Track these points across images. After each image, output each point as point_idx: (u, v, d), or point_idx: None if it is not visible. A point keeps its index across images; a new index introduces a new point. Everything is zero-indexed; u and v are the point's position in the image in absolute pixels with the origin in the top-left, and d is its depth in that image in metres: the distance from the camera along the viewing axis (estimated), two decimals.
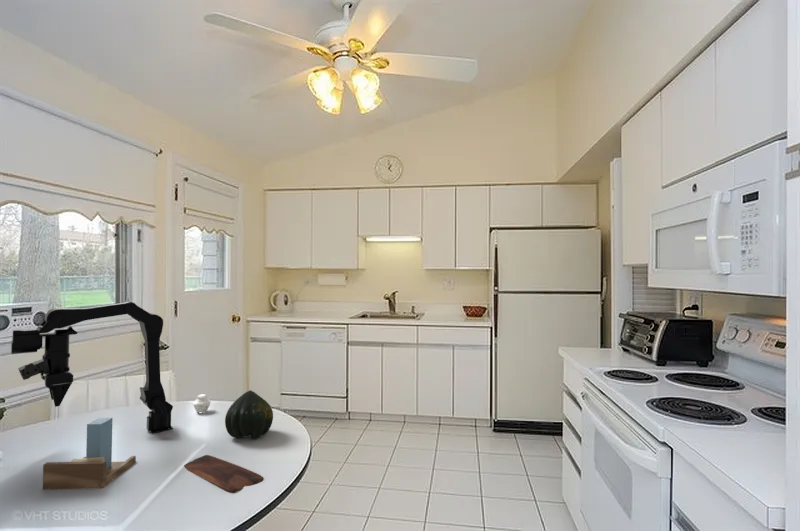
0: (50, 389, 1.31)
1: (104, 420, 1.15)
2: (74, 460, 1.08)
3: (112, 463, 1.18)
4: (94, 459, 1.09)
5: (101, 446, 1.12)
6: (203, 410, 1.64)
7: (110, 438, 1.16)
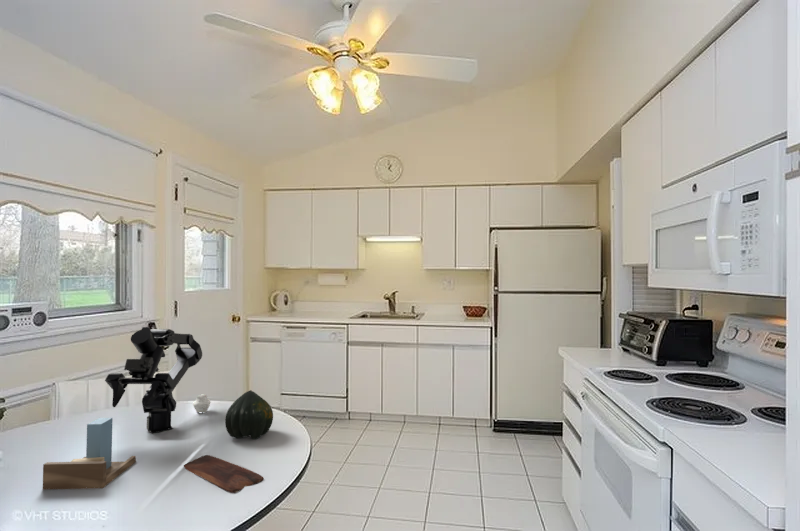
0: (116, 395, 1.30)
1: (104, 420, 1.15)
2: (74, 460, 1.08)
3: (112, 463, 1.18)
4: (94, 459, 1.09)
5: (101, 446, 1.12)
6: (203, 410, 1.64)
7: (110, 438, 1.16)
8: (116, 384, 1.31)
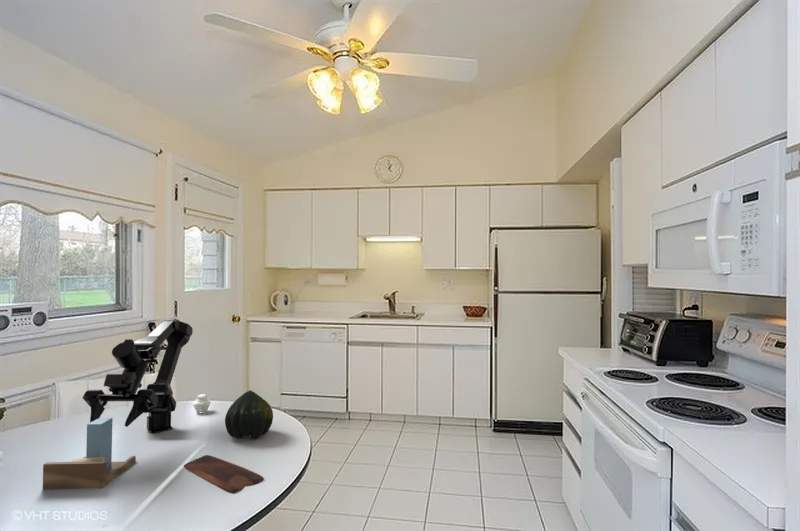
0: (94, 414, 1.20)
1: (104, 420, 1.15)
2: (74, 460, 1.08)
3: (112, 463, 1.18)
4: (94, 459, 1.09)
5: (101, 446, 1.12)
6: (203, 410, 1.64)
7: (110, 438, 1.16)
8: (94, 402, 1.21)
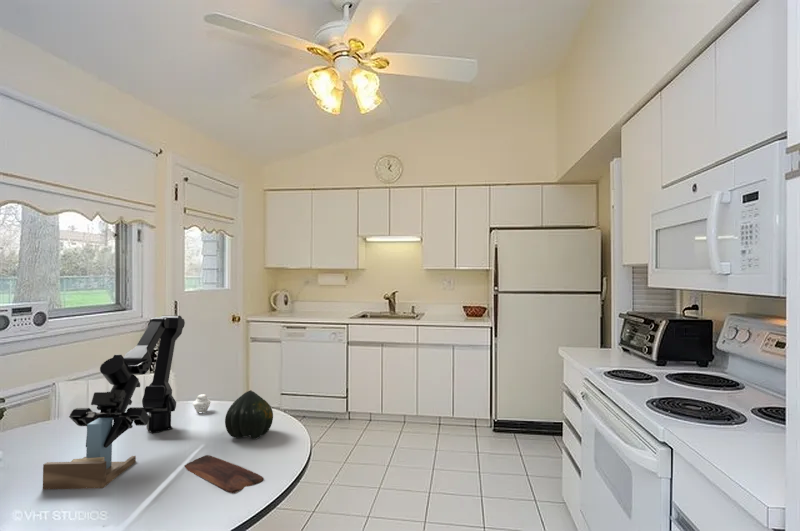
0: None
1: (104, 420, 1.15)
2: (74, 460, 1.08)
3: (112, 463, 1.18)
4: (94, 459, 1.09)
5: (101, 446, 1.12)
6: (203, 410, 1.64)
7: None
8: (91, 421, 1.16)
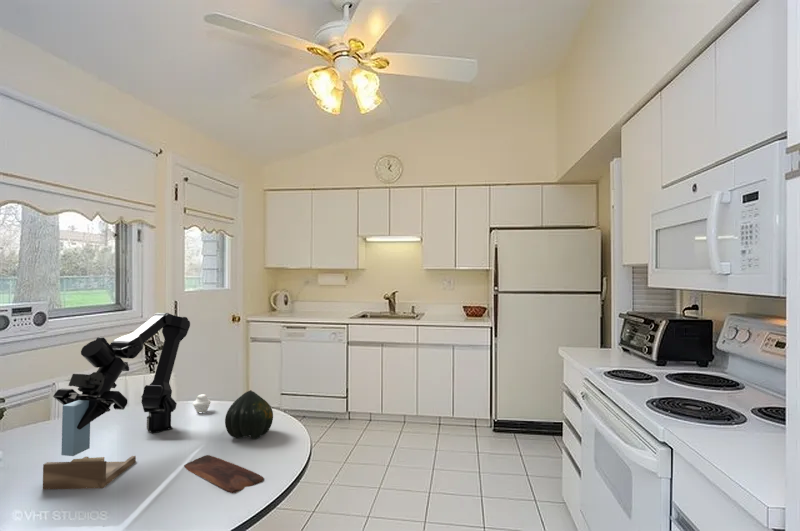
0: None
1: (81, 402, 1.15)
2: (74, 460, 1.08)
3: (112, 463, 1.18)
4: (94, 459, 1.09)
5: (75, 428, 1.12)
6: (203, 410, 1.64)
7: None
8: (71, 402, 1.16)
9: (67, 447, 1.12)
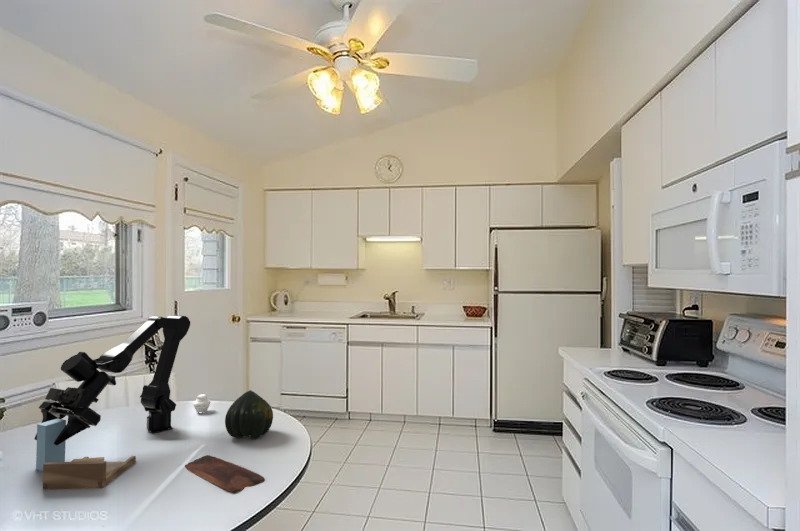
0: None
1: (55, 422, 1.16)
2: (74, 460, 1.08)
3: (112, 463, 1.18)
4: (94, 459, 1.09)
5: (46, 447, 1.14)
6: (203, 410, 1.64)
7: None
8: (45, 414, 1.19)
9: (40, 466, 1.14)
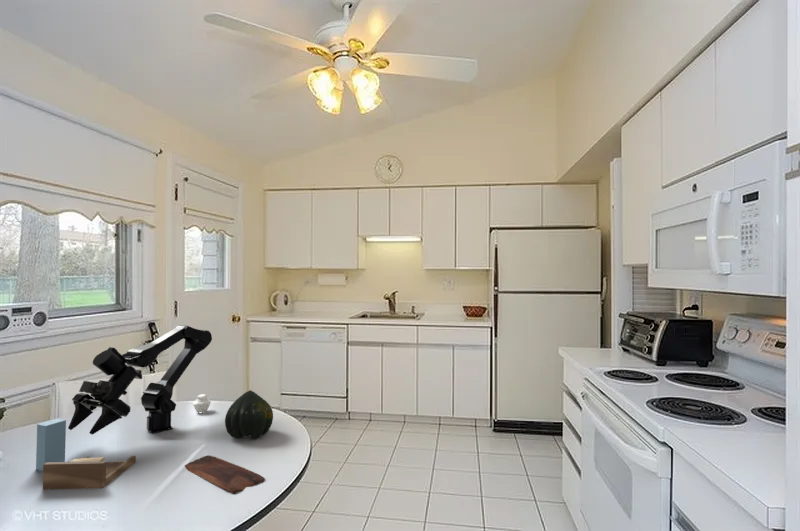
0: (75, 417, 1.26)
1: (55, 422, 1.16)
2: (74, 460, 1.08)
3: (112, 463, 1.18)
4: (94, 459, 1.09)
5: (46, 447, 1.14)
6: (203, 410, 1.64)
7: (62, 440, 1.17)
8: (78, 405, 1.28)
9: (40, 466, 1.14)
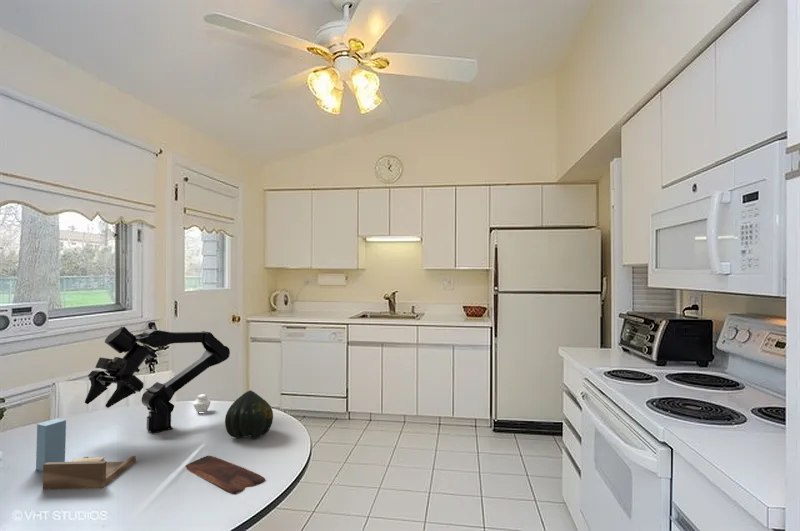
0: (91, 392, 1.33)
1: (55, 422, 1.16)
2: (74, 460, 1.08)
3: (112, 463, 1.18)
4: (94, 459, 1.09)
5: (46, 447, 1.14)
6: (203, 410, 1.64)
7: (62, 440, 1.17)
8: (93, 381, 1.34)
9: (40, 466, 1.14)
